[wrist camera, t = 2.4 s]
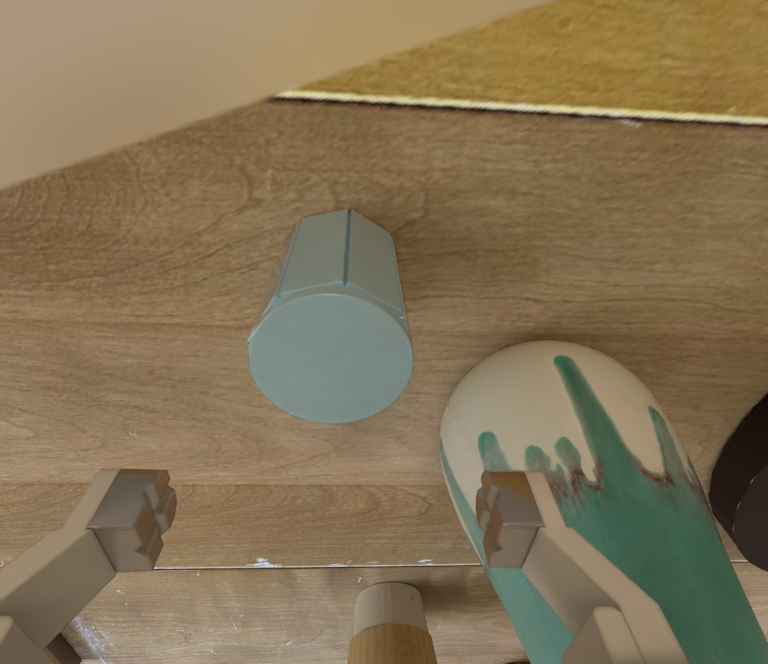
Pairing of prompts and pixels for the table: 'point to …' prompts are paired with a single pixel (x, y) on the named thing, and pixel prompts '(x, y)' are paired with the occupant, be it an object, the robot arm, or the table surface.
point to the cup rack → (61, 652)
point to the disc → (745, 488)
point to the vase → (597, 492)
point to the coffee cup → (390, 627)
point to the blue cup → (333, 322)
